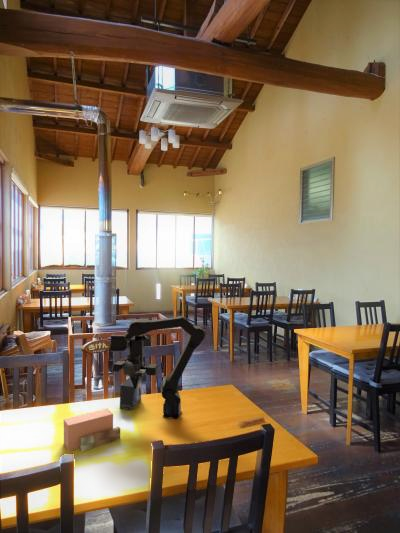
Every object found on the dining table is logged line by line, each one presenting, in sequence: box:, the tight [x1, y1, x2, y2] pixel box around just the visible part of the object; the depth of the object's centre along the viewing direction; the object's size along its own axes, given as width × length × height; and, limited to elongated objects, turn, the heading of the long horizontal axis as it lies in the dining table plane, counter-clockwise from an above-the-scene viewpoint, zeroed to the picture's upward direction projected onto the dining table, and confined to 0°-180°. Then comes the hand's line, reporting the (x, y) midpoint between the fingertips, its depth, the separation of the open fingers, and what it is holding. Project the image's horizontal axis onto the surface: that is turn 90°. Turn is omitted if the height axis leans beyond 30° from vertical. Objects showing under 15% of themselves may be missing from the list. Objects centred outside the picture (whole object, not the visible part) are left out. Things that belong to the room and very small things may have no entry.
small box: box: [119, 376, 142, 411], centre depth 162 cm, size 11×6×10 cm, turn 168°
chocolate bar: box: [237, 415, 266, 428], centre depth 147 cm, size 3×12×2 cm, turn 117°
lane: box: [80, 426, 121, 452], centre depth 133 cm, size 14×12×4 cm
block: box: [63, 408, 114, 452], centre depth 131 cm, size 16×6×9 cm, turn 126°
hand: (135, 388), depth 150 cm, fingers closed
